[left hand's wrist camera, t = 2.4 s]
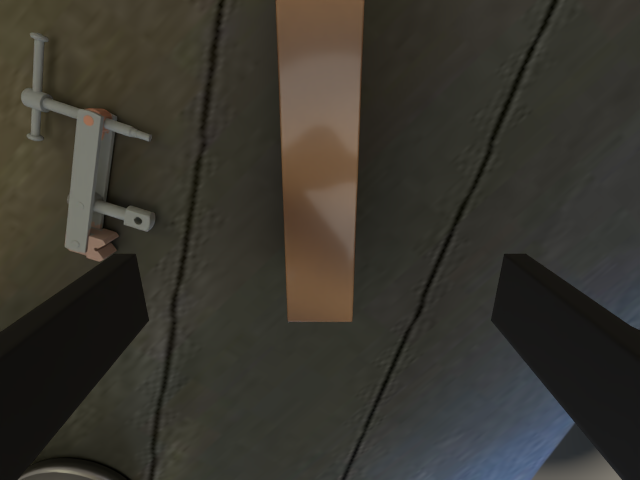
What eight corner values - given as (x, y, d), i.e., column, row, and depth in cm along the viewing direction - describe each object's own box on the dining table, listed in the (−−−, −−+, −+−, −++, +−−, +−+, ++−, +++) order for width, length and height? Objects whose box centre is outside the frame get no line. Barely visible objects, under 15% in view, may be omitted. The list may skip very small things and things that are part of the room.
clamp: (137, 273, 28) (9, 236, 27) (150, 262, 30) (31, 227, 29) (171, 81, 23) (16, 26, 22) (183, 84, 25) (42, 33, 24)
